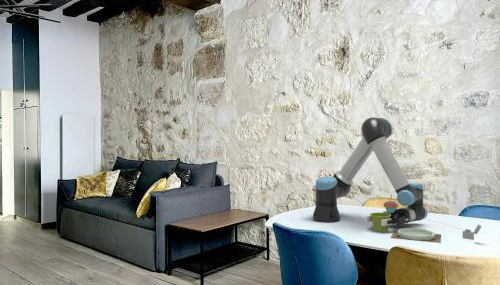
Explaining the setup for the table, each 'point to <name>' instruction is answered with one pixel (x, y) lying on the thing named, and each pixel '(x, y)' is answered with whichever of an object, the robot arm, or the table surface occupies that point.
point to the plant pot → (379, 221)
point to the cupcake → (390, 206)
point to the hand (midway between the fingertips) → (373, 221)
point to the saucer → (416, 234)
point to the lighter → (469, 234)
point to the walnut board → (435, 240)
